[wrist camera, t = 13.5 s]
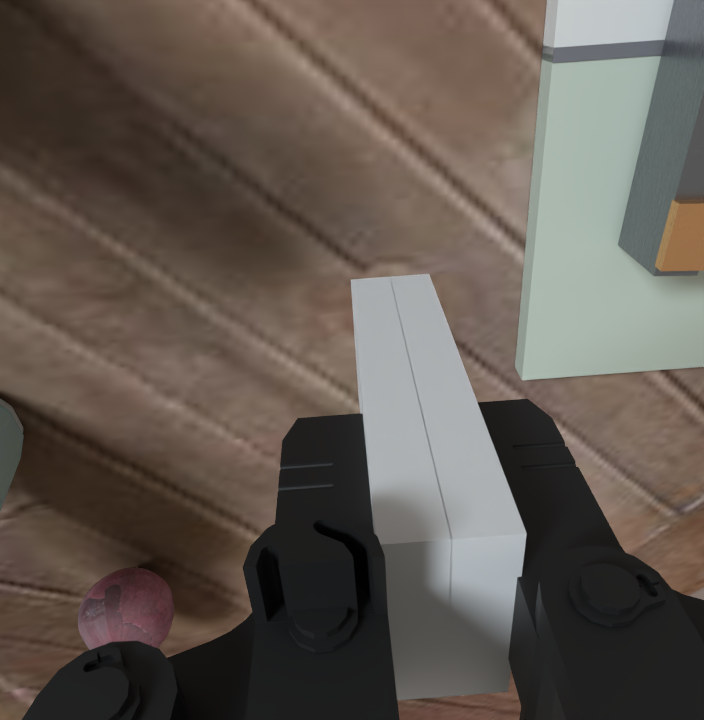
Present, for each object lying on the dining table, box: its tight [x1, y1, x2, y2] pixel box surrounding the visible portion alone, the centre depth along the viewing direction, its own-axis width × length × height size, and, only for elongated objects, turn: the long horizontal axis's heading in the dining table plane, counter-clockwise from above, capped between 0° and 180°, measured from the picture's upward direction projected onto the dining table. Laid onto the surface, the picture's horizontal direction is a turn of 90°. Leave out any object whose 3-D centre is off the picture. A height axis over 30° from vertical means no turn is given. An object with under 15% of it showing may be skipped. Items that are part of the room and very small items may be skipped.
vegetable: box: [78, 567, 174, 650], centre depth 40 cm, size 6×6×10 cm
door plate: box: [515, 0, 704, 380], centre depth 28 cm, size 32×12×2 cm, turn 4°
